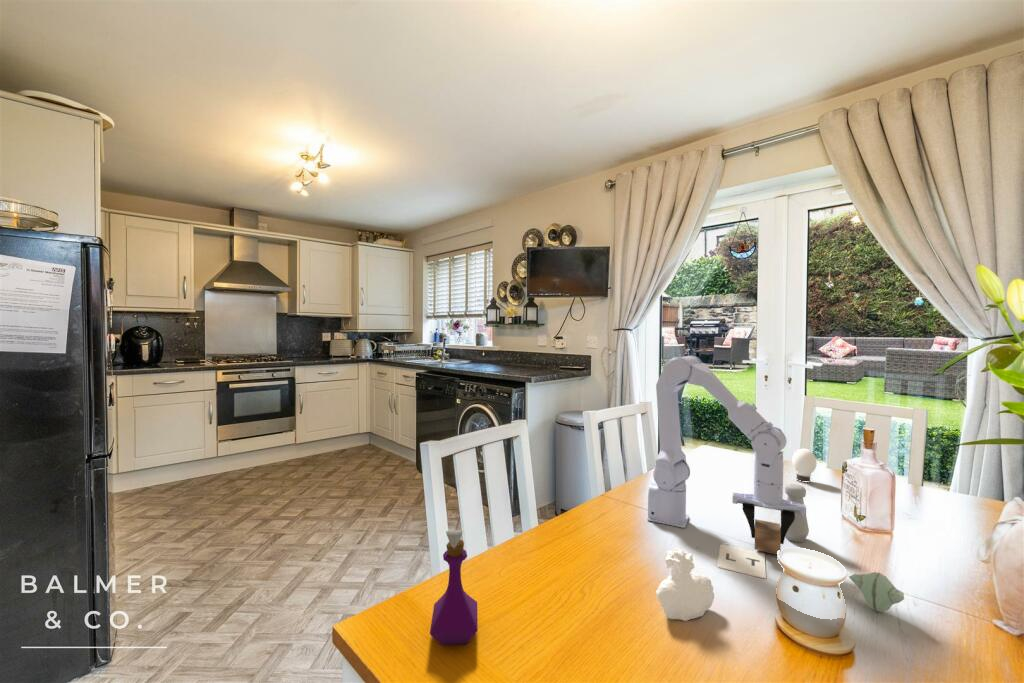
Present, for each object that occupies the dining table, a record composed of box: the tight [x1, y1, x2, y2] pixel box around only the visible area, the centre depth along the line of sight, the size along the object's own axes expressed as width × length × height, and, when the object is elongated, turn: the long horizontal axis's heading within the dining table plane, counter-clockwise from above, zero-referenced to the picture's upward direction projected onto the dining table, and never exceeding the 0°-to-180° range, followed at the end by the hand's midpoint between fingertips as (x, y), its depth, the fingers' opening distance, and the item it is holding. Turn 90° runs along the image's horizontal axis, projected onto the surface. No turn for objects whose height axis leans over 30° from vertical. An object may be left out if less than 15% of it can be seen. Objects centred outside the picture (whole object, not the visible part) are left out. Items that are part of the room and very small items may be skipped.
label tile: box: [716, 543, 767, 580], centre depth 96 cm, size 9×11×1 cm
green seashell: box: [848, 571, 905, 613], centre depth 79 cm, size 8×4×7 cm, turn 34°
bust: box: [655, 547, 715, 622], centre depth 80 cm, size 12×8×11 cm
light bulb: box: [791, 448, 817, 482], centre depth 146 cm, size 7×7×11 cm
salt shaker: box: [784, 483, 810, 543], centre depth 106 cm, size 6×6×13 cm
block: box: [754, 518, 782, 555], centre depth 100 cm, size 5×5×5 cm
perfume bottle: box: [429, 529, 479, 646], centre depth 72 cm, size 8×8×18 cm
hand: (767, 539), depth 100 cm, fingers closed on block, 5 cm apart
